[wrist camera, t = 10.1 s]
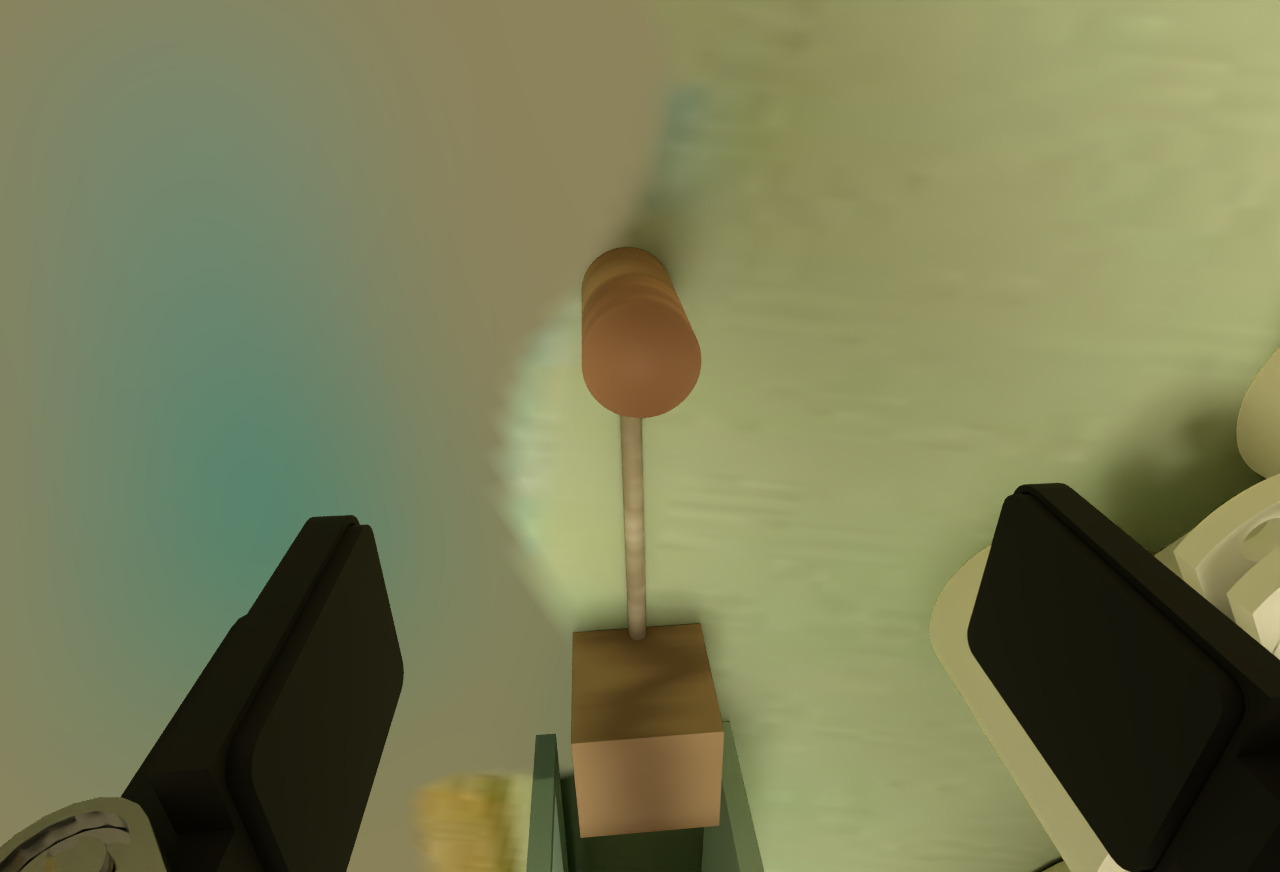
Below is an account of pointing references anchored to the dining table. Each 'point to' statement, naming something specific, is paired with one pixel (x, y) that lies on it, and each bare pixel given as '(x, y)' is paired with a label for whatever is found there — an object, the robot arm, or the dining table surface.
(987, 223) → the dining table surface
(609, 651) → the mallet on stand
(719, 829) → the plain rectangular box
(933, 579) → the dining table surface
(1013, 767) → the bracket
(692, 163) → the dining table surface
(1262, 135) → the dining table surface
